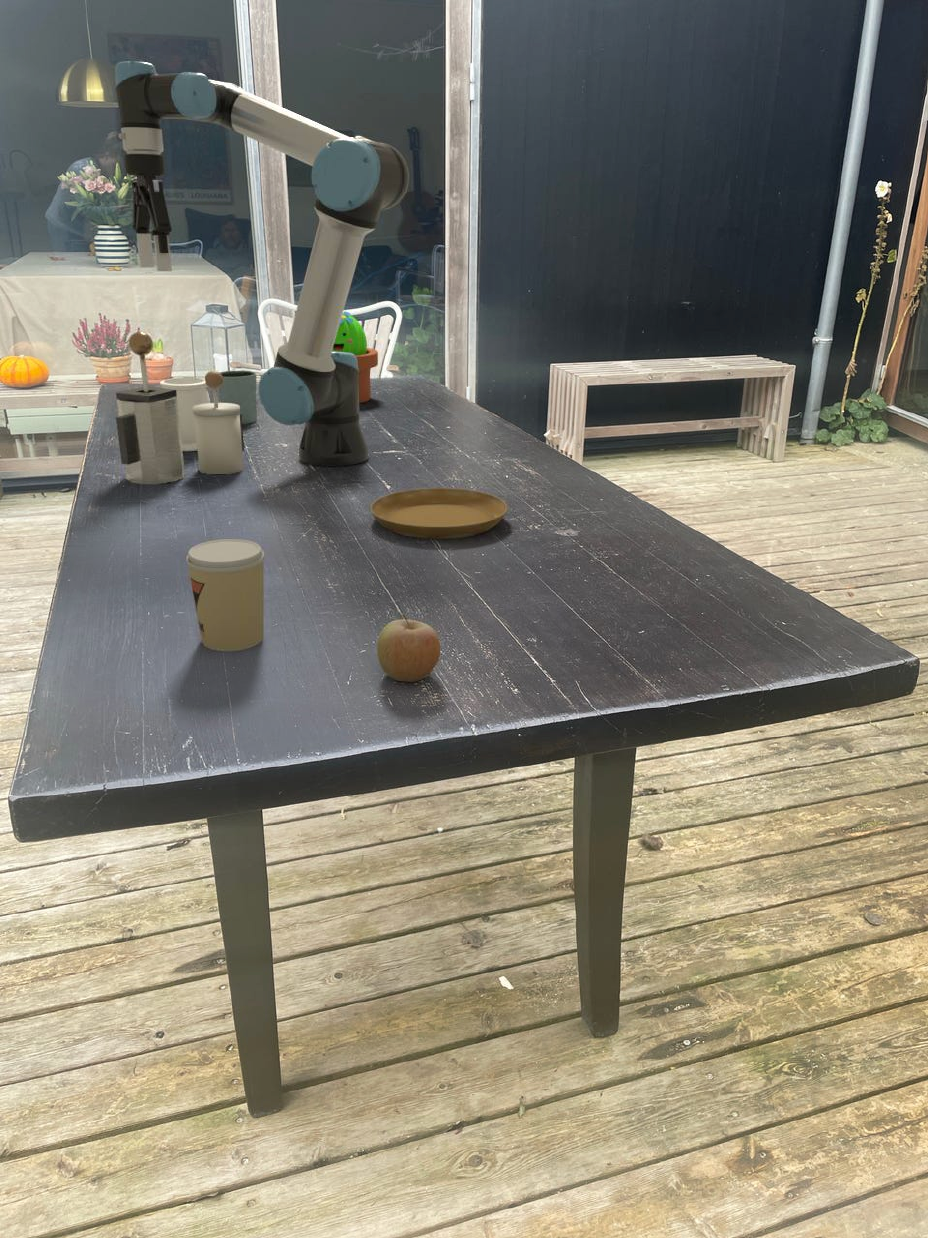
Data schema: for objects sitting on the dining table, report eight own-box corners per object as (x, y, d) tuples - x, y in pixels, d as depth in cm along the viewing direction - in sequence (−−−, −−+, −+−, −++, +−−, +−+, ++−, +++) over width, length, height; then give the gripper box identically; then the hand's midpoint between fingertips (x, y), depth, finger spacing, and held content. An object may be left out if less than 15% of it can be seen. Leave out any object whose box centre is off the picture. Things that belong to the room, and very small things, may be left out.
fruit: (365, 683, 111) (364, 620, 108) (392, 658, 117) (391, 598, 114) (426, 695, 109) (426, 631, 105) (449, 669, 115) (450, 608, 112)
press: (195, 473, 196) (187, 389, 189) (150, 490, 184) (139, 400, 178) (152, 467, 200) (142, 384, 193) (105, 483, 188) (93, 395, 182)
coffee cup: (201, 625, 126) (192, 538, 121) (273, 623, 126) (267, 537, 122) (188, 655, 117) (179, 563, 112) (265, 653, 118) (259, 562, 113)
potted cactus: (303, 392, 284) (299, 304, 274) (377, 392, 286) (375, 305, 276) (300, 407, 264) (295, 312, 254) (379, 406, 266) (377, 313, 256)
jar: (201, 454, 212) (195, 385, 206) (158, 451, 213) (151, 383, 208) (222, 444, 221) (216, 378, 215) (180, 441, 223) (174, 376, 217)
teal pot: (267, 420, 247) (264, 372, 242) (239, 426, 239) (235, 377, 234) (239, 415, 252) (235, 368, 247) (210, 421, 244) (206, 373, 239)
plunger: (181, 438, 192) (170, 331, 184) (154, 447, 186) (142, 335, 177) (149, 434, 195) (137, 328, 187) (122, 442, 189) (108, 332, 180)
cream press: (260, 464, 204) (253, 367, 196) (226, 477, 194) (218, 375, 186) (224, 459, 208) (216, 364, 200) (189, 471, 198) (179, 371, 190)
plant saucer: (346, 533, 163) (345, 515, 162) (405, 498, 184) (405, 481, 182) (478, 553, 155) (478, 533, 154) (524, 513, 175) (525, 496, 174)
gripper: (109, 154, 194) (122, 265, 202) (139, 149, 175) (152, 272, 183) (147, 156, 198) (158, 265, 206) (180, 151, 178) (191, 272, 186)
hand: (155, 269), depth 195 cm, fingers open, 13 cm apart
